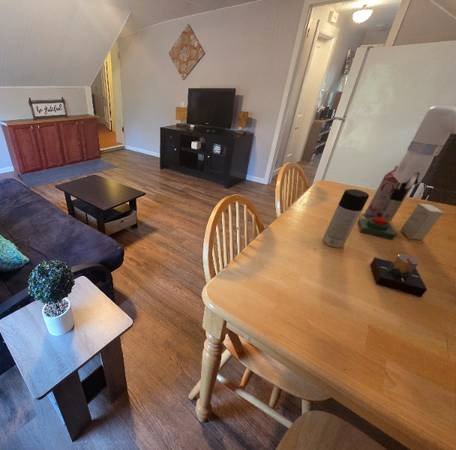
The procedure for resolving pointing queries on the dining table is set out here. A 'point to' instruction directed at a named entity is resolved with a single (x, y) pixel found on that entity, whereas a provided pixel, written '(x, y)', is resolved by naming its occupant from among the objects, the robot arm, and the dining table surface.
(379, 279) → the hob panel
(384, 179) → the juice carton
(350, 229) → the spray can
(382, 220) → the button
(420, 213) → the cosmetic box
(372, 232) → the button box
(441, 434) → the dining table surface
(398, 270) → the hob knob
